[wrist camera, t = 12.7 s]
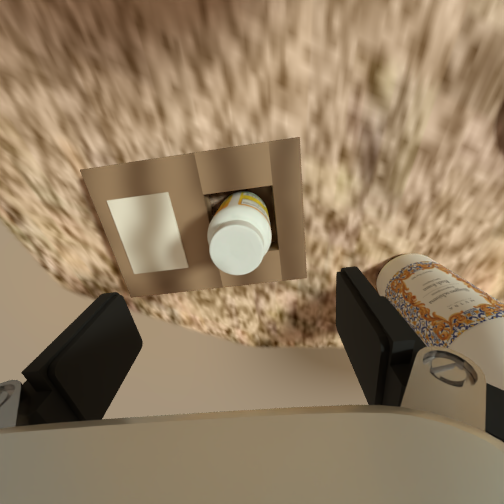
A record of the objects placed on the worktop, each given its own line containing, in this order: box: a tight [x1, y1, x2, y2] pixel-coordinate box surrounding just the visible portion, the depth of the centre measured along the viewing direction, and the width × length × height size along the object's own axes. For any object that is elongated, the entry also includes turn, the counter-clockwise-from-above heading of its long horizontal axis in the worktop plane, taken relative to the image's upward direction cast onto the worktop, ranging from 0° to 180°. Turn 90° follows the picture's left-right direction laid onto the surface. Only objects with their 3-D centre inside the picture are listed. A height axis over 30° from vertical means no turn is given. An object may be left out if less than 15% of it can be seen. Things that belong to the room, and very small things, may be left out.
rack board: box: [80, 137, 307, 298], centre depth 25 cm, size 20×14×3 cm
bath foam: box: [376, 253, 504, 390], centre depth 20 cm, size 7×7×20 cm
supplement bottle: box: [207, 191, 272, 275], centre depth 21 cm, size 5×5×10 cm
